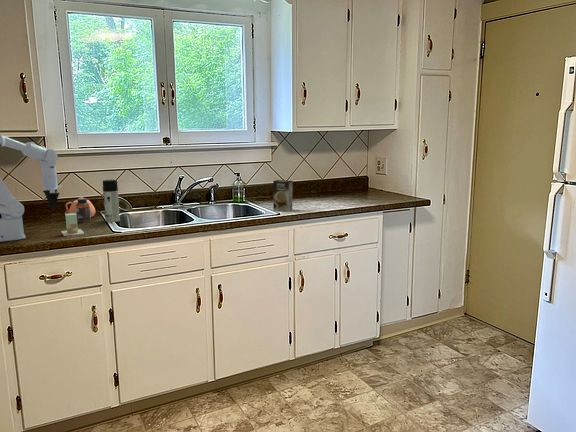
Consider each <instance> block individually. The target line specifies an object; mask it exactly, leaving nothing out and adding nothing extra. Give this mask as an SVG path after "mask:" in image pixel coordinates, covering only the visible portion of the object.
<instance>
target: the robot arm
mask: <svg viewBox="0 0 576 432" xmlns="http://www.w3.org/2000/svg"><path fill="white" fill-rule="evenodd" d="M0 147H1V148H2V147H6V148H10V149H14V150H17V151H19V152H20V151H21V153H22V154H23V156H26V157H28V158H29V157H30V158H32V159H34V160H38V161H39V162H40V168H41V176H42V177H41V179H42V189H43V190H42V192H43V194H44V195H45V199H46V201H47V204H48V206H49V208H50V209H51V210H52V209H57V207H58V206H57V203H58V199H59V195H60V192H58V189H59V188H62V186H61V185H58V175H57V160H58V157H59V155H58V154H57V152H56V151H55V150H54V149H51V148H46V146H44V145H43V146H42V145H41V146H40V145H38V144H36V142H34V141H30V142H26V143H24V142H21V141H18V140H16V139H14V138H11V137H8V136H6V135H3V134H0ZM24 213H25V206H24V204H23V203H21V202H19V201H18V199H17V198H16V197H15V195H13V194H11V192H10V191H9V189H8V187H7V185H6V184H5V182H4V180H3V179H2V177H1V176H0V215H1V218H0V242H9V241H17V240H21V239H22V240H23V239H26V237H27V236H26V234H25V230H24V222H23V215H24Z"/></svg>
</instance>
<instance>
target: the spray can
mask: <svg viewBox="0 0 576 432" xmlns="http://www.w3.org/2000/svg"><path fill="white" fill-rule="evenodd" d="M102 193H103V207H104V210H103V211H104V220H105V222H107V223H108V222H109V223H118V222H120V220H121V219H120V203H119V200H120V199H119V188H118V180H117V179H105V180H104V179H103V180H102Z"/></svg>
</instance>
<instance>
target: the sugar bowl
mask: <svg viewBox="0 0 576 432" xmlns="http://www.w3.org/2000/svg"><path fill="white" fill-rule="evenodd" d="M80 198H81V197H78V198H77V199H75V200H74V201H68V202H66V203H65V208H66V211H65V212H64V215H65V214H70V213H76V214H77V210H76V204H77V203H78V199H80ZM87 203H89V207H90V217H91V218H92V217H93V216H95V215H96V208H95V206H94V205H93V203H92V202H91V201H90V200H89V199H87ZM70 204H71V205H70ZM68 205H70V206H69V207H68Z"/></svg>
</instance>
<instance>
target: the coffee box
mask: <svg viewBox="0 0 576 432" xmlns="http://www.w3.org/2000/svg"><path fill="white" fill-rule="evenodd" d="M293 182H294V181H293V180H284V179H277V180H273V183H272V184H273V185H272V186H273V188H272V189H273V191H272V192H273V194H272V195H273V196H272V197H273V199H272V200H273V207H272V208H273V209H272V210H273V211H274V210H277V211H279V212H287V211H289V212H291V211H293V187H294V186H293ZM290 210H291V211H290Z"/></svg>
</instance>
